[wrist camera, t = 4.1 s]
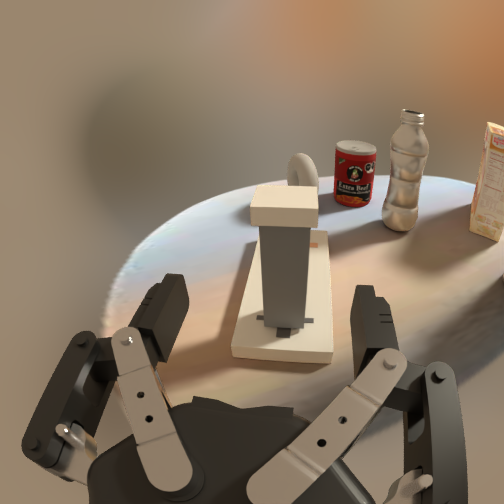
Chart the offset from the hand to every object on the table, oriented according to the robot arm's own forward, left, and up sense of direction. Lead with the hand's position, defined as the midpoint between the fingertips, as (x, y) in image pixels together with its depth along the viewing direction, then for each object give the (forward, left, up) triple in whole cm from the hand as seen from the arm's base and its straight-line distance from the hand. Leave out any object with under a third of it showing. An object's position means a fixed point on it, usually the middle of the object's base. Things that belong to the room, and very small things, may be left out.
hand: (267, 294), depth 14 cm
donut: (-1, -42, -17) cm, 45 cm away
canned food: (-11, -46, -17) cm, 50 cm away
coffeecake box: (-40, -41, -17) cm, 60 cm away
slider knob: (0, -12, -15) cm, 19 cm away
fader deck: (0, -19, -17) cm, 25 cm away
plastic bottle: (-18, -36, -17) cm, 44 cm away
